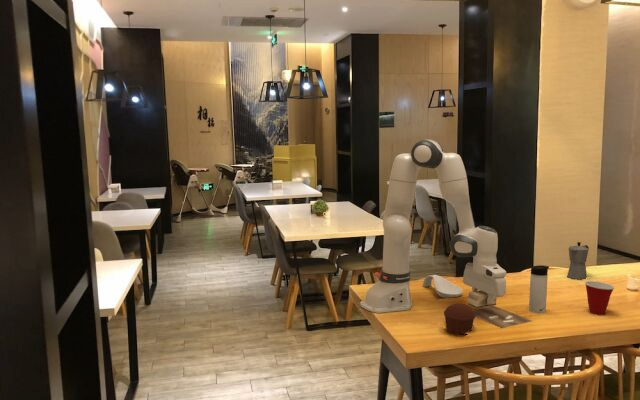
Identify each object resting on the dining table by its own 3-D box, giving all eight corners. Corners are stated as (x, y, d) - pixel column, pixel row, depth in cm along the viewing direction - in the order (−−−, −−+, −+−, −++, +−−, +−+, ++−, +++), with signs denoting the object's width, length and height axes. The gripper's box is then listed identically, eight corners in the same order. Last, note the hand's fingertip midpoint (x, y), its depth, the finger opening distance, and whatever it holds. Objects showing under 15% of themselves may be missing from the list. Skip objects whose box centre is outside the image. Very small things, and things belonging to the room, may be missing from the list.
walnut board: (501, 332, 196) (501, 328, 195) (463, 315, 213) (463, 311, 213) (532, 324, 203) (532, 320, 203) (492, 309, 220) (493, 305, 220)
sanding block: (476, 308, 209) (477, 295, 208) (467, 304, 213) (468, 292, 213) (495, 304, 213) (496, 292, 213) (486, 301, 218) (487, 289, 217)
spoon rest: (468, 299, 234) (468, 283, 233) (445, 303, 229) (446, 287, 228) (436, 285, 255) (436, 270, 254) (415, 288, 251) (415, 273, 250)
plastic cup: (619, 316, 212) (621, 286, 210) (594, 318, 210) (596, 288, 208) (600, 307, 222) (602, 279, 221) (576, 308, 220) (578, 280, 219)
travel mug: (544, 318, 210) (547, 268, 207) (527, 315, 213) (529, 266, 211) (547, 313, 215) (550, 265, 212) (530, 310, 218) (532, 262, 216)
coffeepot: (579, 281, 259) (581, 245, 257) (560, 277, 267) (562, 242, 264) (595, 276, 268) (597, 241, 266) (577, 272, 276) (579, 238, 273)
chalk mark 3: (504, 323, 200) (504, 322, 200) (502, 322, 201) (502, 320, 201) (514, 322, 201) (514, 321, 201) (512, 321, 202) (512, 320, 202)
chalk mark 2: (508, 320, 203) (508, 318, 203) (505, 319, 204) (505, 318, 204) (512, 317, 206) (512, 316, 206) (509, 316, 207) (509, 315, 207)
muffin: (436, 329, 198) (437, 303, 197) (456, 323, 205) (457, 298, 203) (461, 339, 189) (462, 312, 187) (482, 333, 195) (483, 306, 194)
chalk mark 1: (490, 319, 204) (490, 318, 204) (488, 318, 205) (488, 317, 205) (498, 317, 206) (498, 316, 206) (496, 317, 207) (496, 315, 207)
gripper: (460, 261, 219) (458, 294, 221) (497, 274, 201) (494, 310, 203) (472, 260, 222) (470, 292, 224) (509, 273, 204) (507, 308, 206)
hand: (482, 301), depth 213 cm, fingers closed on sanding block, 5 cm apart
